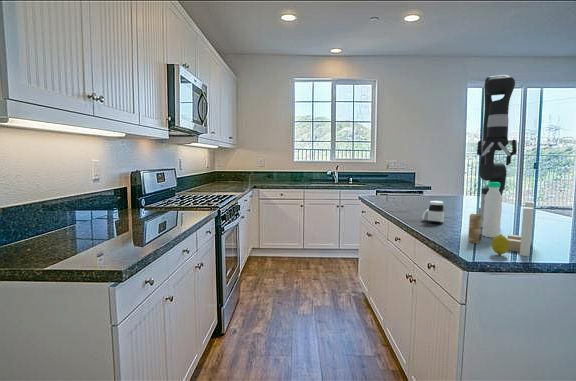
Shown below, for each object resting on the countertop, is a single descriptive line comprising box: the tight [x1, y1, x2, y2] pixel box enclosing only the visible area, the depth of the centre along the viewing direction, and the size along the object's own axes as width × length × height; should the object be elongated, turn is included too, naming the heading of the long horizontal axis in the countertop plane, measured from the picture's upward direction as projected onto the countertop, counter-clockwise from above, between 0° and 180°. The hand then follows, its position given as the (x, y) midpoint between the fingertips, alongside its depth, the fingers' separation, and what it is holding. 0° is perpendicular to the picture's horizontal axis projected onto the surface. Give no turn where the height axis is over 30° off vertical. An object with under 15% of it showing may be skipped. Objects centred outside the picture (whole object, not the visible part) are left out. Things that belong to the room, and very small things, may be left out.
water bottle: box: [481, 181, 503, 239], centre depth 161 cm, size 7×7×25 cm
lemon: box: [491, 233, 509, 256], centre depth 133 cm, size 6×6×8 cm
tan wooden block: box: [467, 213, 483, 244], centre depth 152 cm, size 5×4×12 cm
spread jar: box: [421, 200, 445, 225], centre depth 194 cm, size 12×11×12 cm
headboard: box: [507, 200, 535, 257], centre depth 142 cm, size 8×22×18 cm, turn 144°
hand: (495, 165), depth 149 cm, fingers open, 8 cm apart
